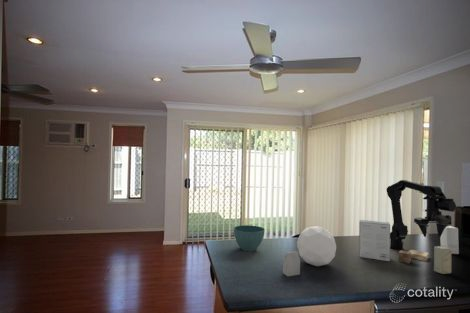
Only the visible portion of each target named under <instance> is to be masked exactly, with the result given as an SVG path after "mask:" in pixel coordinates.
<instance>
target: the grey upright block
mask: <svg viewBox="0 0 470 313" xmlns="http://www.w3.org/2000/svg"><path fill="white" fill-rule="evenodd" d="M282 261H283V262H282V265H283V266H282V274H283V275H285V276H286V277H294V276H298V275H301V259H300V254H299V251H298V250H296V251H290V252H285V254H284V258H283V260H282Z"/></svg>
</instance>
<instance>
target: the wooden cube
mask: <svg viewBox="0 0 470 313" xmlns="http://www.w3.org/2000/svg"><path fill="white" fill-rule="evenodd" d="M398 262H401V263H405V264H408V265H409V264H410V263H411V262H412V258H411V252H408V251H406V250H403V249H402V250H398Z"/></svg>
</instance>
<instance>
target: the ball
mask: <svg viewBox="0 0 470 313" xmlns="http://www.w3.org/2000/svg"><path fill="white" fill-rule="evenodd" d="M296 247H297V251H298V255H299V257H301V258H302V260H304V262H305V263H306V264H309V265H312V266H314V267H321V266H326V265H328V264H330V263H331V262H332V260H333V259H334V258H335V257H336V250H337V243H336V240H335V236H334V235H333V234H332V233H331V232H329V230H327V229H326V228H323V227H321V226H317V225H314V226H309V227H305V228H304V229H303V231H302V232H301V233H299V236H298V239H297V242H296Z"/></svg>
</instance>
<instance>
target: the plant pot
mask: <svg viewBox="0 0 470 313" xmlns="http://www.w3.org/2000/svg"><path fill="white" fill-rule="evenodd" d="M233 235H234V239H235V242H236V244H237V246H238V247H239V248H240V249H241V250H242V251H243V252H254V251H257V249H258V248H259V247H260V245H261V243H262V242H263V240H264V236H265V228H264V227H262V226H257V225H249V224H248V225H247V224H245V225H244V224H243V225H236V226H234V227H233Z"/></svg>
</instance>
